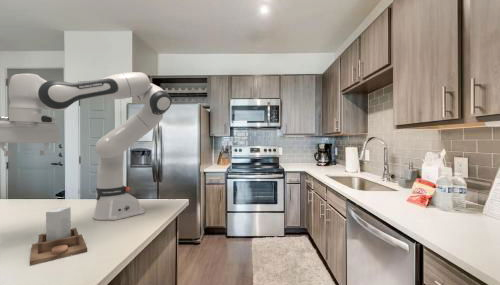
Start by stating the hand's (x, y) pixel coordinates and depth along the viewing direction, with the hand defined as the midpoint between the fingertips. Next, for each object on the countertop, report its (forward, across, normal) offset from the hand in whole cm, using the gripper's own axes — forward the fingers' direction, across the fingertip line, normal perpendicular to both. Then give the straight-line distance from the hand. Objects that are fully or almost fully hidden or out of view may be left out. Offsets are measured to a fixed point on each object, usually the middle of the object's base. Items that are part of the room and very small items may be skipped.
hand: (25, 155), depth 89 cm
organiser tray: (+31, +9, -17) cm, 37 cm away
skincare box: (+30, +9, -15) cm, 35 cm away
